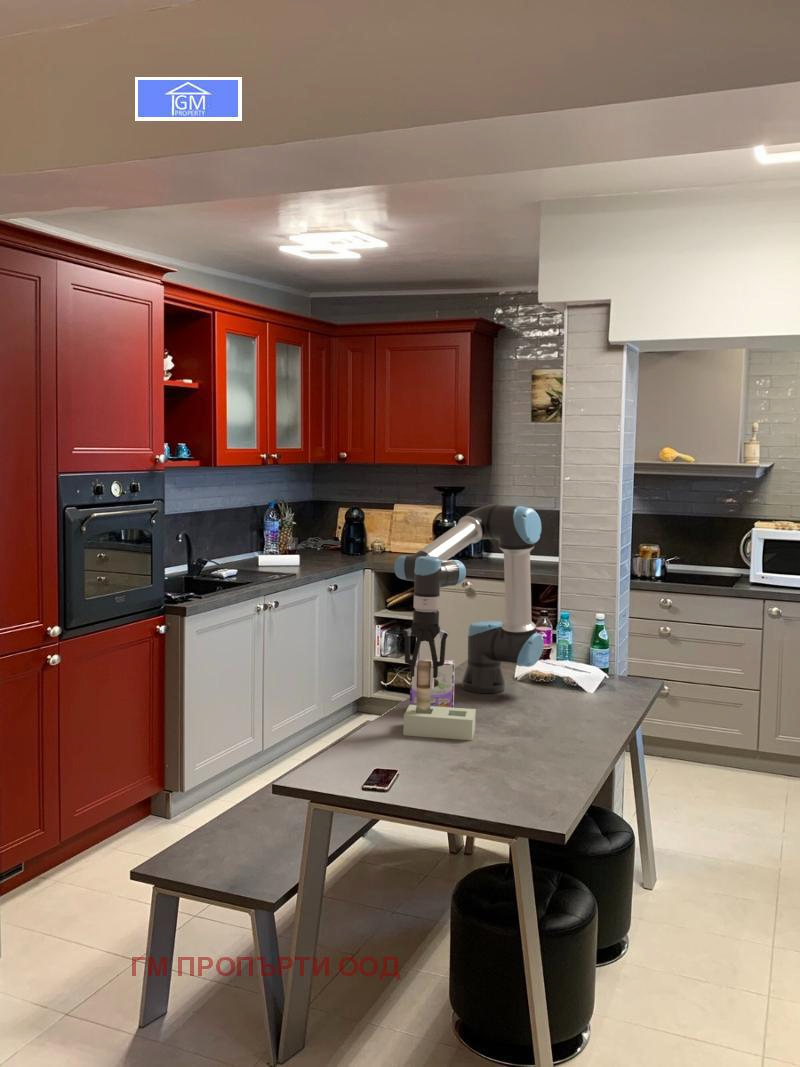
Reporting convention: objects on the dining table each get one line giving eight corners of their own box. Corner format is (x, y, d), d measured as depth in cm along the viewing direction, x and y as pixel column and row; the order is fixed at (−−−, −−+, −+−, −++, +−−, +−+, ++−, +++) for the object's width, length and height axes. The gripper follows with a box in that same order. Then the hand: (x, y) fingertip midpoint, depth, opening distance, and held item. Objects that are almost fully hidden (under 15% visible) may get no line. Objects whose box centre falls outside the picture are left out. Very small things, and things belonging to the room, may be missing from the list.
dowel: (417, 705, 283) (418, 659, 282) (431, 706, 282) (432, 660, 281) (415, 709, 279) (416, 662, 278) (429, 710, 278) (430, 663, 277)
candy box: (453, 709, 304) (455, 659, 302) (452, 715, 298) (454, 663, 296) (410, 707, 305) (412, 657, 303) (409, 713, 299) (410, 661, 297)
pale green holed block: (409, 723, 288) (409, 704, 287) (475, 728, 285) (475, 709, 284) (403, 735, 277) (403, 715, 276) (471, 740, 274) (472, 720, 273)
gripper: (395, 610, 275) (392, 689, 278) (454, 613, 273) (451, 693, 275) (399, 605, 283) (397, 682, 285) (456, 609, 280) (454, 686, 283)
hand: (423, 687), depth 280 cm, fingers closed on dowel, 4 cm apart
